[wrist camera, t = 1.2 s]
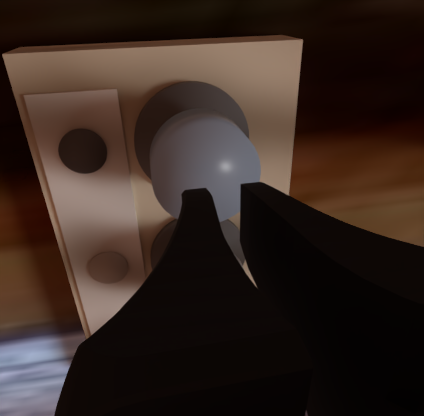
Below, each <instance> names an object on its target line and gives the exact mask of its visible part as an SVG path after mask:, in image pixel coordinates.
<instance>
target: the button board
mask: <svg viewBox="0 0 424 416" xmlns="http://www.w3.org/2000/svg"><path fill="white" fill-rule="evenodd" d="M302 44H303V39H298V38H294V37H289V36H285V35H270V36H248V37H227V38H205V39H184V40H162V41H141V42H119V43H97V44H76V45H54V46H33V47H19V48H16V49H14V50H11V51H9V52H6V53H4V54H2V56H3V59H4V62H5V66H6V69H7V73H8V76H9V79H10V83H11V86H12V90H13V93H14V96H15V100H16V103H17V106H18V110H19V113H20V117H21V120H22V123H23V127H24V130H25V134H26V137H27V140H28V144H29V147H30V150H31V154H32V157H33V161H34V164H35V167H36V171H37V174H38V178H39V181H40V184H41V188H42V191H43V194H44V198H45V201H46V205H47V208H48V211H49V215H50V218H51V222H52V225H53V228H54V232H55V235H56V239H57V242H58V245H59V249H60V252H61V255H62V259H63V262H64V266H65V269H66V272H67V276H68V279H69V283H70V286H71V289H72V293H73V296H74V299H75V303H76V306H77V310H78V313H79V316H80V320H81V323H82V327H83V330H84V333H85V337H86V339H88V338H89V337H90V336H91V335H92V334H93V333H95V332H96V331H97V330H98V329H99V328H100V327H102V326H103V325H104V324H105V323H106V322H107V321H108V320H110V319H111V318H112V317H113V316H114V315H115V314H116V313H117V312H118V311H119V310H120V309H121V308H122V307H123V305H124V304H125V303H126V302H127V301H128V300H129V299H130V298H131V297H132V296H133V294H134V293H135V292H136V291H137V290H138V289H139V288H140V286H141V285H142V284H143V283H144V281H145V280H146V279H147V277H148V276H149V274H150V273H151V271H152V270H153V269H154V267H155V266H156V264H157V263H158V261H159V259H160V258H161V256H162V254H163V252H164V251H165V249H166V247H167V245H168V243H169V241H170V238H171V236H172V234H173V231H174V229H175V227H176V224H177V221H178V219H176V218H175V217H173V216H171V215H170V214H169V213H168V212H166V211H165V210H164V209H163V208H162V206H161V205H160V203H159V202H158V200H157V198H156V196H155V194H154V191H153V187H152V179H151V169H150V148H151V144H152V141H153V139H154V136H155V135H156V133H157V131H158V130H159V129H160V127H161V126H162V125H163V124H164V123H165V122H166V121H167V120H168V119H170V118H171V117H173V116H174V115H176V114H178V113H180V112H183V111H186V110H189V109H196V108H205V109H211V110H215V111H218V112H220V113H223V114H224V115H226V116H228V117H229V118H230V119H232V120H233V121H234V122H235V123H236V125H237V126H238V127H239V128H240V129H241V130H242V132H243V133H244V134H245V135H246V136H247V138H248V139H249V140H250V141H251V143H252V144H253V145H254V147H255V149H256V151H257V153H258V156H259V159H260V165H261V175H260V181H259V182H263V183H265V184H267V185H270V186H272V187H274V188H275V189H277V190H279V191H281V192H283V193H285V194H287V195H289V187H290V176H291V165H292V154H293V143H294V132H295V121H296V110H297V99H298V88H299V77H300V66H301V55H302ZM220 226H221V229H222V232H223V234H224V237H225V239H226V241H227V243H228V245H229V246H230V248H231V250H232V252H233V253H234V254H235V255H236V256H237V257H238V258H239V260H240V261H241V263H242V266H243V268H244V270H245V273H246V274H247V275H248V277H249V278H250V279H251V281H252V282H253V283H254V285H255V286H256V284H255V282H254V280H253V278H252V276H251V273H250V271H249V269H248V266H247V263H246V260H245V257H244V254H243V251H242V247H241V244H240V212H238V213H237V214H236V215H234V216H232V217H231V218H229V219H227V220H224V221H222V222H220ZM256 287H257V286H256ZM257 289H258V288H257Z"/></svg>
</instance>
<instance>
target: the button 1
mask: <svg viewBox="0 0 424 416" xmlns="http://www.w3.org/2000/svg"><path fill="white" fill-rule="evenodd" d="M150 169H151V179H152V187H153V191H154V194H155V196H156V198H157V200H158V202H159V203H160V205H161V206H162V208H163V209H164V210H165V211H166V212H168V213H169V214H170V215H171V216H173V217H175V218H176V219H178V217H179V214H180V211H181V206H182V197H181V194H182V193H183V191H184V190H189V189H198V188H207V190H208V191H209V192H210V193H211V195H212V197H213V200H214V204H215V207H216V211H217V215H218V218H219V222H222V221H224V220H227V219H229V218H231V217H232V216H234V215H236V214H237V213H238V212H240V188H241V184H244V183H253V182H259V181H260V175H261V165H260V159H259V156H258V153H257V151H256V149H255V147H254V145H253V144H252V143H251V141H250V140H249V139H248V138H247V136H246V135H245V134H244V133H243V132H242V130H241V129H240V128H239V127H238V126H237V125H236V123H235V122H234V121H233V120H232V119H230V118H229V117H228V116H226V115H224V114H223V113H220V112H218V111H215V110H211V109H205V108H196V109H189V110H186V111H183V112H180V113H178V114H176V115H174V116H173V117H171V118H170V119H168V120H167V121H166V122H165V123H164V124H163V125H162V126H161V127H160V129H159V130H158V131H157V133H156V135H155V136H154V139H153V141H152V144H151V148H150Z"/></svg>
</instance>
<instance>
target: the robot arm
mask: <svg viewBox="0 0 424 416" xmlns="http://www.w3.org/2000/svg"><path fill="white" fill-rule="evenodd" d="M181 197H182V206H181V211H180V214H179V217H178V221H177V224H176V227H175V229H174V231H173V234H172V236H171V238H170V241H169V243H168V245H167V247H166V249H165V251H164V252H163V254H162V256H161V258H160V259H159V261H158V263H157V264H156V266H155V267H154V269H153V270H152V271H151V273H150V274H149V276H148V277H147V279H146V280H145V281H144V283H143V284H142V285H141V286H140V288H139V289H138V290H137V291H136V292H135V293H134V294H133V296H132V297H131V298H130V299H129V300H128V301H127V302H126V303H125V304H124V305H123V307H122V308H121V309H120V310H119V311H118V312H117V313H116V314H115V315H114V316H113V317H112V318H111V319H110V320H108V321H107V322H106V323H105V324H104V325H103V326H102V327H100V328H99V329H98V330H97V331H96V332H95V333H93V334H92V335H91V336H90V337H89V338H88V339H86V340H85V341H84V342H82V343H81V344H80V345H79V346H78V348H77V351H76V353H75V355H74V358H73V360H72V363H71V365H70V368H69V370H68V373H67V376H66V379H65V382H64V385H63V388H62V391H61V394H60V397H59V400H58V403H57V407H56V411H55V416H424V247H421V246H417V245H414V244H410V243H406V242H403V241H399V240H395V239H391V238H388V237H385V236H382V235H378V234H375V233H373V232H370V231H367V230H364V229H361V228H358V227H356V226H353V225H350V224H348V223H345V222H343V221H340V220H338V219H336V218H334V217H331V216H329V215H327V214H325V213H322V212H320V211H318V210H316V209H314V208H312V207H310V206H308V205H306V204H304V203H302V202H300V201H298V200H296V199H294V198H292V197H291V196H289V195H287V194H285V193H283V192H281V191H279V190H277V189H275V188H274V187H272V186H270V185H267V184H265V183H263V182H253V183H244V184H241V188H240V244H241V247H242V251H243V254H244V257H245V260H246V263H247V266H248V269H249V271H250V273H251V276H252V278H253V280H254V282H255V284H256V286H257V287H256V286H255V285H254V283H253V282H252V281H251V279H250V278H249V277H248V275H247V274H246V273H245V271H244V269H243V268H242V266H241V265H240V263H239V262H238V260H237V259H236V257H235V255H234V254H233V252H232V250H231V248H230V246H229V245H228V243H227V241H226V239H225V237H224V234H223V232H222V229H221V226H220V222H219V218H218V215H217V211H216V207H215V204H214V200H213V197H212V195H211V193H210V192H209V191H208V190H207V188H198V189H189V190H184V191H183V193H182V194H181ZM257 288H258V289H257Z"/></svg>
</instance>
